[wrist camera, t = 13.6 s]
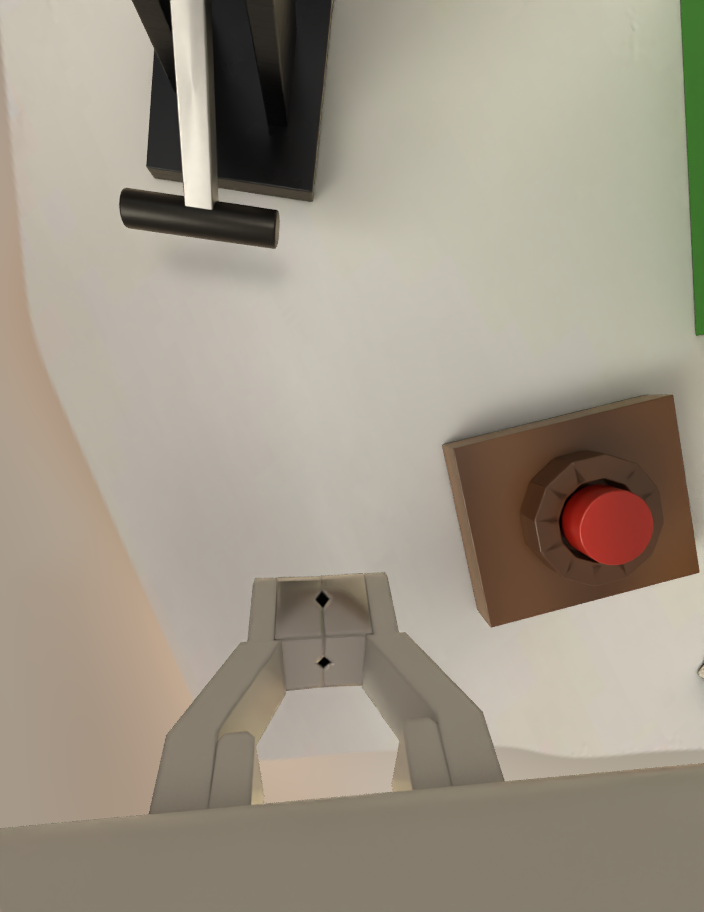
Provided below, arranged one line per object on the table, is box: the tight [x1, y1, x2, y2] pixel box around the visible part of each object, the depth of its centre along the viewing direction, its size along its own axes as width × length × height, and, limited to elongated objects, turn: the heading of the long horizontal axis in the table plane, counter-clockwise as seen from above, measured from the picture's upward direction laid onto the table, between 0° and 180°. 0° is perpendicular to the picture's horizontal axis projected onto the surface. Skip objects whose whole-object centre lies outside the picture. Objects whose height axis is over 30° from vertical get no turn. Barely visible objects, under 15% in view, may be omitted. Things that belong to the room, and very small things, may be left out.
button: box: [562, 484, 653, 565], centre depth 23 cm, size 4×4×2 cm
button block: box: [442, 395, 699, 627], centre depth 26 cm, size 12×10×4 cm
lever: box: [119, 0, 280, 249], centre depth 16 cm, size 12×6×2 cm
